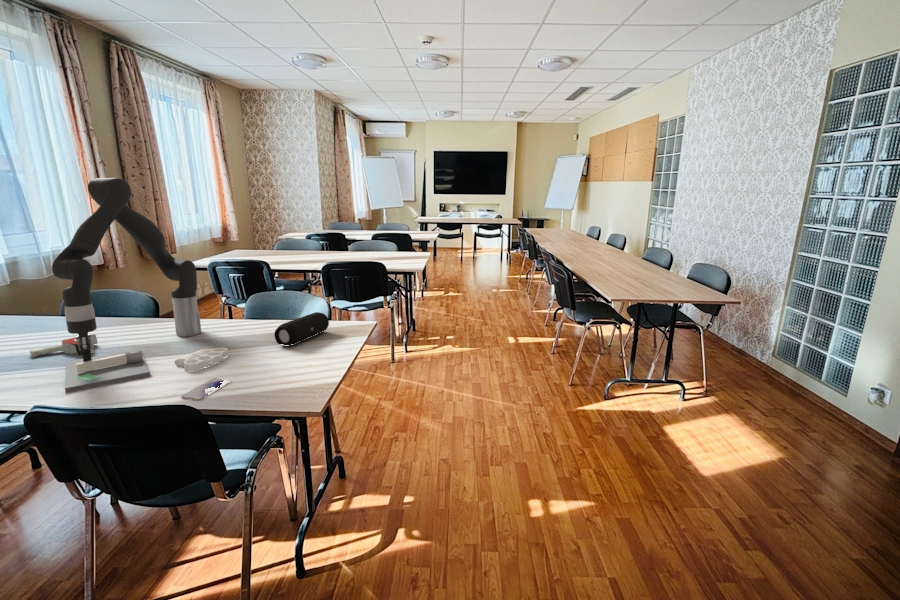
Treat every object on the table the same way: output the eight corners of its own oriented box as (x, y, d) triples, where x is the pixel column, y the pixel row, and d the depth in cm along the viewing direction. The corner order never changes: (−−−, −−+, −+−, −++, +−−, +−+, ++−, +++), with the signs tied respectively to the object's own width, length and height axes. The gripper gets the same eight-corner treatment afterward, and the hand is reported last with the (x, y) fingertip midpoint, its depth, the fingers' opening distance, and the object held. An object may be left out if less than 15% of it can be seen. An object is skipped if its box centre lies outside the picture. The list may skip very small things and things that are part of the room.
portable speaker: (292, 350, 178) (290, 326, 176) (273, 346, 182) (271, 323, 179) (330, 333, 201) (330, 312, 199) (313, 330, 205) (312, 309, 202)
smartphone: (232, 380, 147) (199, 399, 133) (232, 382, 147) (200, 402, 133) (213, 377, 148) (179, 396, 134) (214, 380, 149) (179, 399, 134)
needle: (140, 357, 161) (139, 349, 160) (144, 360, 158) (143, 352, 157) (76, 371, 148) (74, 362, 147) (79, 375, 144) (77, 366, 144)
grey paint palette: (206, 353, 173) (237, 357, 170) (167, 369, 156) (201, 374, 153) (205, 345, 173) (237, 349, 169) (166, 360, 156) (200, 365, 152)
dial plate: (141, 352, 170) (140, 348, 170) (150, 375, 150) (149, 371, 149) (66, 365, 157) (66, 361, 156) (65, 392, 136) (64, 388, 135)
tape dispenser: (27, 361, 163) (72, 362, 160) (22, 348, 162) (68, 349, 159) (72, 344, 180) (114, 344, 177) (68, 332, 179) (111, 332, 176)
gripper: (95, 320, 143) (103, 369, 148) (94, 311, 153) (101, 357, 157) (65, 324, 139) (74, 374, 143) (66, 314, 149) (74, 361, 153)
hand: (88, 365), depth 150 cm, fingers closed
